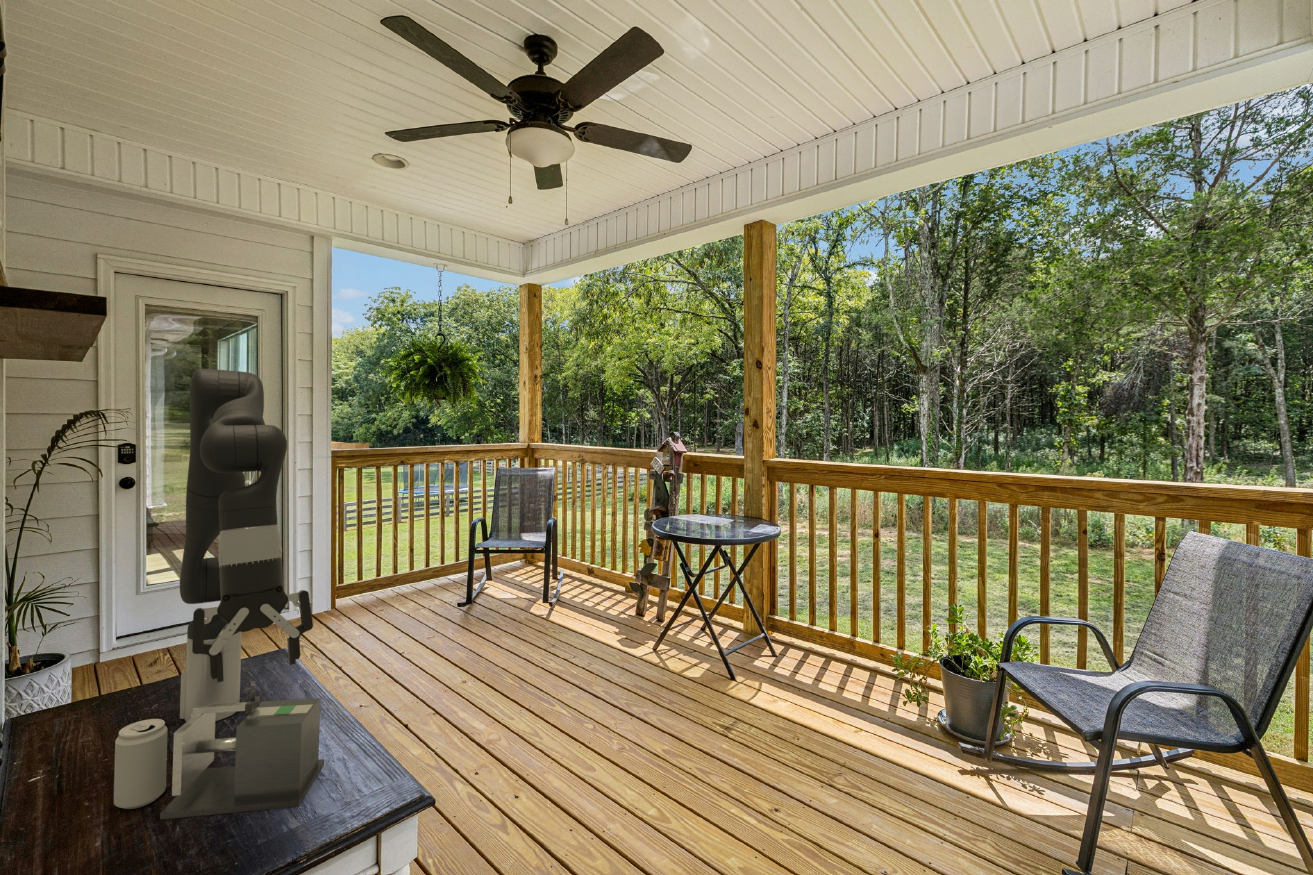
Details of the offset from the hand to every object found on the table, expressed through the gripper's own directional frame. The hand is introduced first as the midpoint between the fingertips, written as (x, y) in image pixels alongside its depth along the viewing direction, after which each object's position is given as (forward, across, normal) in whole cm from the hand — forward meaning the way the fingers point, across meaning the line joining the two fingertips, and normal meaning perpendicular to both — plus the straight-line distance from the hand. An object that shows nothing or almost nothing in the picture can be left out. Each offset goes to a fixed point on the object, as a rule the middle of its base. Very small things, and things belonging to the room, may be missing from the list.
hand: (257, 672), depth 83 cm
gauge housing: (+23, +1, -23) cm, 32 cm away
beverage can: (+21, +15, -29) cm, 39 cm away
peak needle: (+9, 0, -20) cm, 22 cm away
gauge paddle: (+19, +5, -24) cm, 31 cm away
